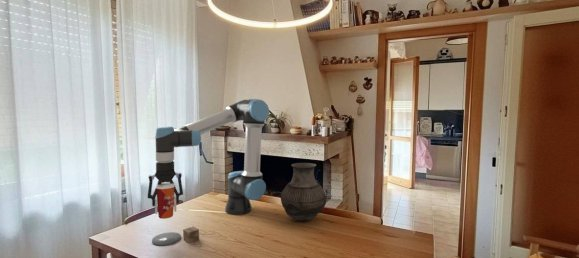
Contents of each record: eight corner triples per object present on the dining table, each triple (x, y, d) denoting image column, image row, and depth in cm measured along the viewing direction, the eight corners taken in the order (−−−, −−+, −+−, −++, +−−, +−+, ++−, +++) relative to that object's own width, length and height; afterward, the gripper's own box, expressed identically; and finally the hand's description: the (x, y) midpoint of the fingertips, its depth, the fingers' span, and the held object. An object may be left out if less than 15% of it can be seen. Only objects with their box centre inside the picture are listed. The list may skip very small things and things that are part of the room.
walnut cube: (193, 236, 135) (193, 226, 134) (199, 240, 131) (198, 229, 131) (183, 240, 131) (183, 229, 131) (188, 243, 128) (188, 232, 127)
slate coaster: (179, 232, 139) (179, 230, 139) (182, 242, 128) (182, 240, 128) (151, 236, 134) (151, 235, 134) (152, 247, 123) (152, 246, 123)
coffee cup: (168, 220, 126) (168, 186, 125) (151, 218, 127) (151, 185, 126) (179, 213, 134) (179, 181, 133) (163, 212, 135) (163, 180, 134)
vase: (320, 231, 141) (321, 170, 140) (273, 224, 149) (273, 167, 147) (329, 214, 165) (330, 162, 163) (288, 209, 173) (289, 159, 171)
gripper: (187, 158, 137) (188, 206, 138) (140, 161, 128) (141, 212, 129) (189, 161, 130) (190, 211, 131) (139, 164, 121) (140, 217, 123)
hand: (165, 211), depth 130 cm, fingers closed on coffee cup, 7 cm apart
